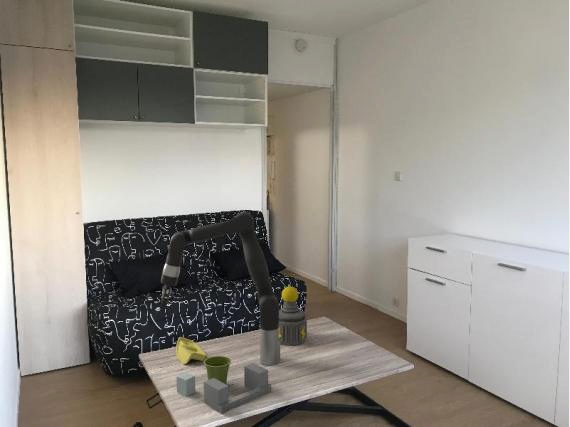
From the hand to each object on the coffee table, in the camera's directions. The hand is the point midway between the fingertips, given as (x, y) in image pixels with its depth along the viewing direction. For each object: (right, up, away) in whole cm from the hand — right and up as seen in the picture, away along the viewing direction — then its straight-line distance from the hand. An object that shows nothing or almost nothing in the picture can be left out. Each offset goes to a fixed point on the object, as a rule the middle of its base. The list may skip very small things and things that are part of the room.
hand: (162, 306), depth 222 cm
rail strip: (+42, -33, -30) cm, 61 cm away
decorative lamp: (+61, -26, +38) cm, 76 cm away
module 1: (+15, -32, -21) cm, 41 cm away
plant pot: (+28, -32, -16) cm, 45 cm away
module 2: (+30, -33, -33) cm, 55 cm away
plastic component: (+10, -29, +16) cm, 34 cm away
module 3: (+45, -31, -18) cm, 58 cm away
